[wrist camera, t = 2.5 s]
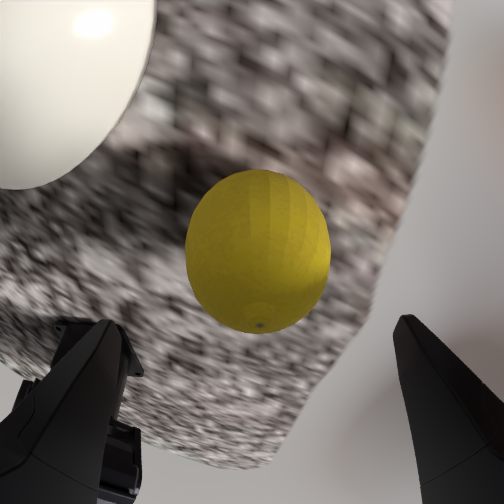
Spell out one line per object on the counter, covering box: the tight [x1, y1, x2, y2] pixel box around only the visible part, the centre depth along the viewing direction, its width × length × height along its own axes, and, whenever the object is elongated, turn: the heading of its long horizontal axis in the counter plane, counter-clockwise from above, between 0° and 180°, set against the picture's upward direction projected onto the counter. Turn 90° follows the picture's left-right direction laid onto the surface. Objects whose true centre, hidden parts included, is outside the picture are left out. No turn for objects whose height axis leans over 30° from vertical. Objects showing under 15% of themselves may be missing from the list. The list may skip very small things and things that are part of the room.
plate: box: [0, 0, 158, 190], centre depth 9 cm, size 16×16×1 cm
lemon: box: [185, 170, 331, 334], centre depth 13 cm, size 6×6×8 cm
